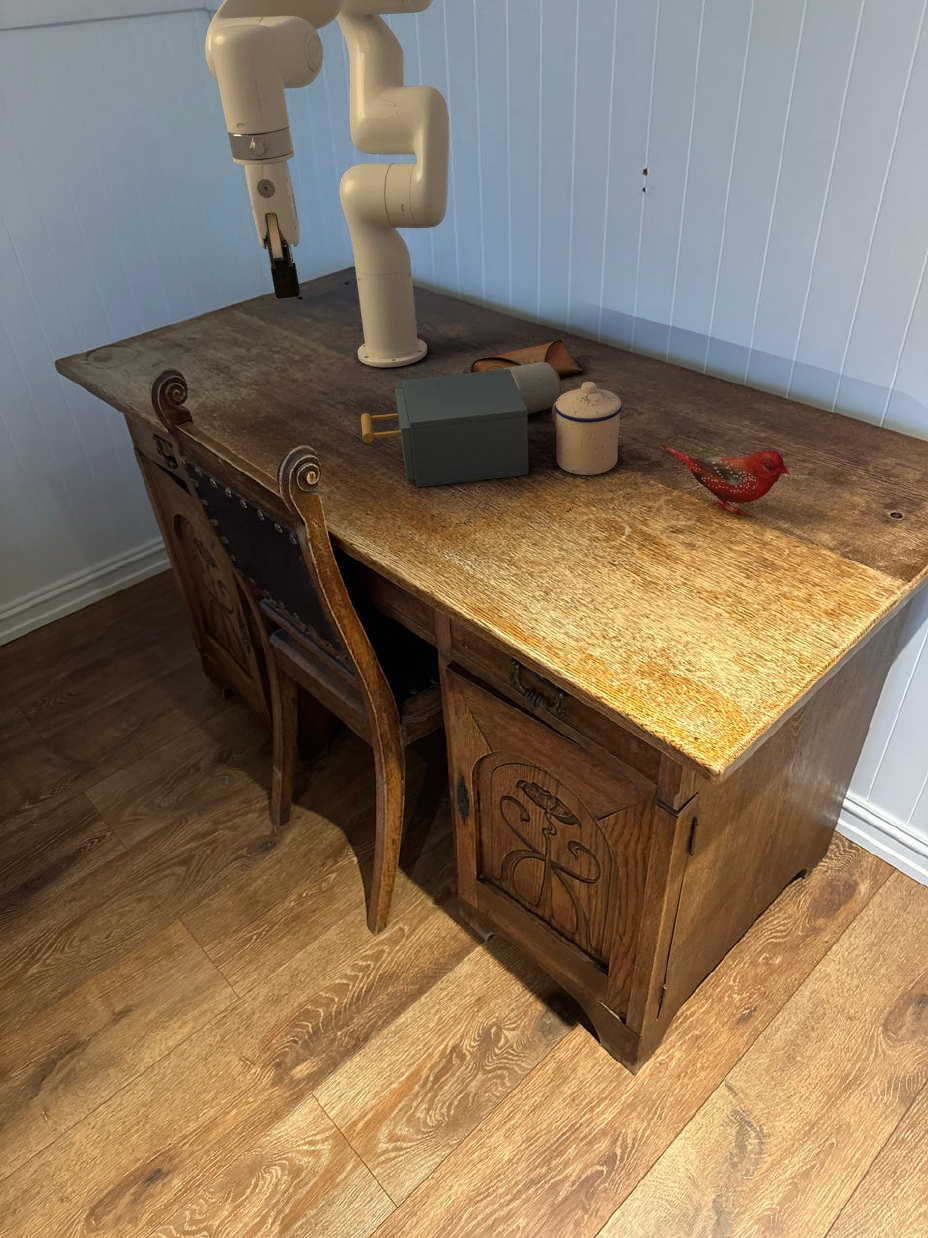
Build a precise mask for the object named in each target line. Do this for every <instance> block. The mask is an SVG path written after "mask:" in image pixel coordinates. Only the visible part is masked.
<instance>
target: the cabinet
mask: <svg viewBox="0 0 928 1238" xmlns="http://www.w3.org/2000/svg"><path fill="white" fill-rule="evenodd" d="M401 383H402V388H403V391H404V396H405V402H406V407H407V413H408V418H409V423H410V430H411V439H412V449H413V459H414V468H415V478H416V479H415V480H414V481H415V486H416V488H424V487H432V486H433V487H434V486H442V485H450V484H458V483H467V482H468V483H469V482H475V481H486V480H493V479H501V478H503V479H504V478H511V477H519V476H528V475H529V426H528V425H529V424H528V423H529V420H528V417H529V416H528V415H529V414H528V411H527V408H526V406H525V403H524V401H523V399H522V396H521V394H520V392H519V389H518V387H517V385H516V382H515V380H514V378H513V375H512V373H511V371H510V369H501V370H492V371H483V372H473V373H471V372H465V373H456V374H447V375H446V374H445V375H437V376H428V377H419V378H410V379H409V378H408V379H402V380H401Z"/></svg>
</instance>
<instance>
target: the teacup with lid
mask: <svg viewBox="0 0 928 1238" xmlns="http://www.w3.org/2000/svg"><path fill="white" fill-rule="evenodd" d="M551 408H552V409H551V414H552V415H551V416H552V420H553V423H554V426H555V428H556V430H555V431H556V436H555V437H556V438H555V439H556V443H555V444H556V445H555V448H556V451H555V453H556V455H555V456H556V457H555V459H556V463H557V465H558V467H560V469H562V470H564V472H567V473H570V474H574V475H580V476H594V475H600V474H603V473H606V472H608V471H610V470H612V469H613V468H614V467H615V466H616V465H617V463H618V457H619V456H618V455H619V453H618V452H619V435H620V418H621V417H620V416H621V411H622V409H623V403H622V401H621V399H620V397H619V396H618V395H617V394H615V393H613V392H612V391H610V390H608V389H607V390H606V389H602V388H598V387H597V384H596V383H595V382H593V381H585V382H582V384H581V387H579V388H576V389H572V390H569V391H566V392H564V393H563V394H561V395H560V397H559V398H558V400H557V401H556V402H555V403H554V405H553V406H552V407H551Z"/></svg>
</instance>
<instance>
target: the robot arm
mask: <svg viewBox="0 0 928 1238" xmlns="http://www.w3.org/2000/svg"><path fill="white" fill-rule="evenodd" d="M433 2H434V0H224V1H222V3H221V5H220V6H219V8H218V9H217V11H216V12H215V14H214V15H213V16H212V18H211V21H210V23H209V25H208V27H207V31H206V36H205V41H204V55H205V59H206V64H207V67H208V69H209V71H210V73H211V75H212V76H213V78H214V79H215V80H216V81H217V85H218V89H219V95H220V100H221V105H222V111H223V116H224V119H225V120H224V121H225V126H226V132H227V137H228V140H229V145H230V152H231V156H232V161H233V163H234V164H237V165H241V166H243V168H244V173H245V180H246V184H247V191H248V195H249V201H250V206H251V210H252V216H253V220H254V225H255V229H256V233H257V238H258V241H259V246H260V247H261V248H262V249H264V250H267V251H268V257H269V261H270V273H271V278H272V284H273V289H274V295H275V297H276V299H278V300H279V299H280V300H281V299H288V298H289V299H290V298H298V297H300V296H301V295H300V293H301V290H300V284H299V278H298V277H299V276H298V270H297V265H296V262H294V256H293V250H292V245H293V247H297V246H298V245H299V243H300V239H301V238H300V237H301V228H300V222H299V217H298V216H299V215H298V211H297V206H296V199H295V194H294V188H293V182H292V176H291V173H290V168H289V163H288V160H291V159H292V158H294V157H295V152H294V146H293V139H292V132H291V126H290V120H289V119H290V118H289V113H288V106H287V101H286V100H287V99H286V93H285V89H299V88H304V87H307V86H309V85H310V84H312V83H313V82H315V80H316V79H317V78H318V77H319V74H320V73H321V70H322V67H323V62H324V47H323V43H322V40H321V37H320V35H319V33H318V30H320V29H322V28H324V27H327V26H329V25H330V24H331V23H332V22H333V21H334V20H335V19H336V22H337V23H338V26H339V28H340V30H341V33H342V35H343V37H344V41H345V43H346V46H347V52H348V58H349V60H348V61H349V131H350V132H349V133H350V136H351V137H350V138H351V141H352V144H353V146H354V147H355V148H356V150H358V151H360V152H362V153H363V154H367V155H368V154H369V155H381V156H382V155H383V156H386V155H387V156H389V155H390V156H391V155H393V156H394V155H395V156H396V155H398V156H399V155H401V156H402V155H404V156H405V155H406V156H407V155H410V156H411V155H413V156H415V157H416V162H368V163H358V164H356V165H353V166H352V167H349V168H348V169H347V170H346V171H345V172H344V173H343V175H342V177H341V179H340V182H339V188H338V189H339V190H338V191H339V200H340V204H341V208H342V211H343V215H344V218H345V221H346V224H347V228H348V232H349V236H350V241H351V247H352V253H353V258H354V259H353V261H354V267H355V269H354V271H355V276H356V284H357V292H358V300H359V308H360V315H361V324H362V331H363V339H364V343H363V344H362V345H361V346H359V348H358V349H357V358H358V360H359V361H360V362H361V363H362V364H364V365H367V366H369V367H375V368H398V367H404V366H408V365H411V364H414V363H416V362H418V361H420V360H422V359H424V358H425V356H426V355H427V353H428V345H427V343H426V342H425V341H424V340H423V339H420V338H418V328H417V327H418V326H417V318H416V306H415V295H414V294H415V293H414V284H413V272H412V262H411V255H410V251H409V247H408V245H407V243H406V241H405V239H404V238H403V236H402V235H401V234H400V232H399V231H398V229H431V228H436V227H438V226H439V225H440V224H442V222H443V220H444V219H445V216H446V212H447V207H448V193H449V163H450V161H449V159H450V116H449V108H448V105H447V101H446V99H445V97H444V95H443V94H442V93H441V91H440V90H439V89H437V88H435V87H432V86H428V85H405V81H404V80H405V79H404V76H405V74H404V73H405V72H404V70H405V69H404V67H405V55H404V51H403V48H402V45H401V43H400V41H399V39H398V38H397V36H396V34H395V33H394V32H393V31H392V29H391V28H390V26H389V25H388V24H387V23H386V21H385V20H384V18H383V17H381V15H396V14H397V15H398V14H399V15H401V14H417V13H421V12H424V11H426V10H427V9H428V8H429V7H430V6H431V5H432V4H433Z"/></svg>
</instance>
